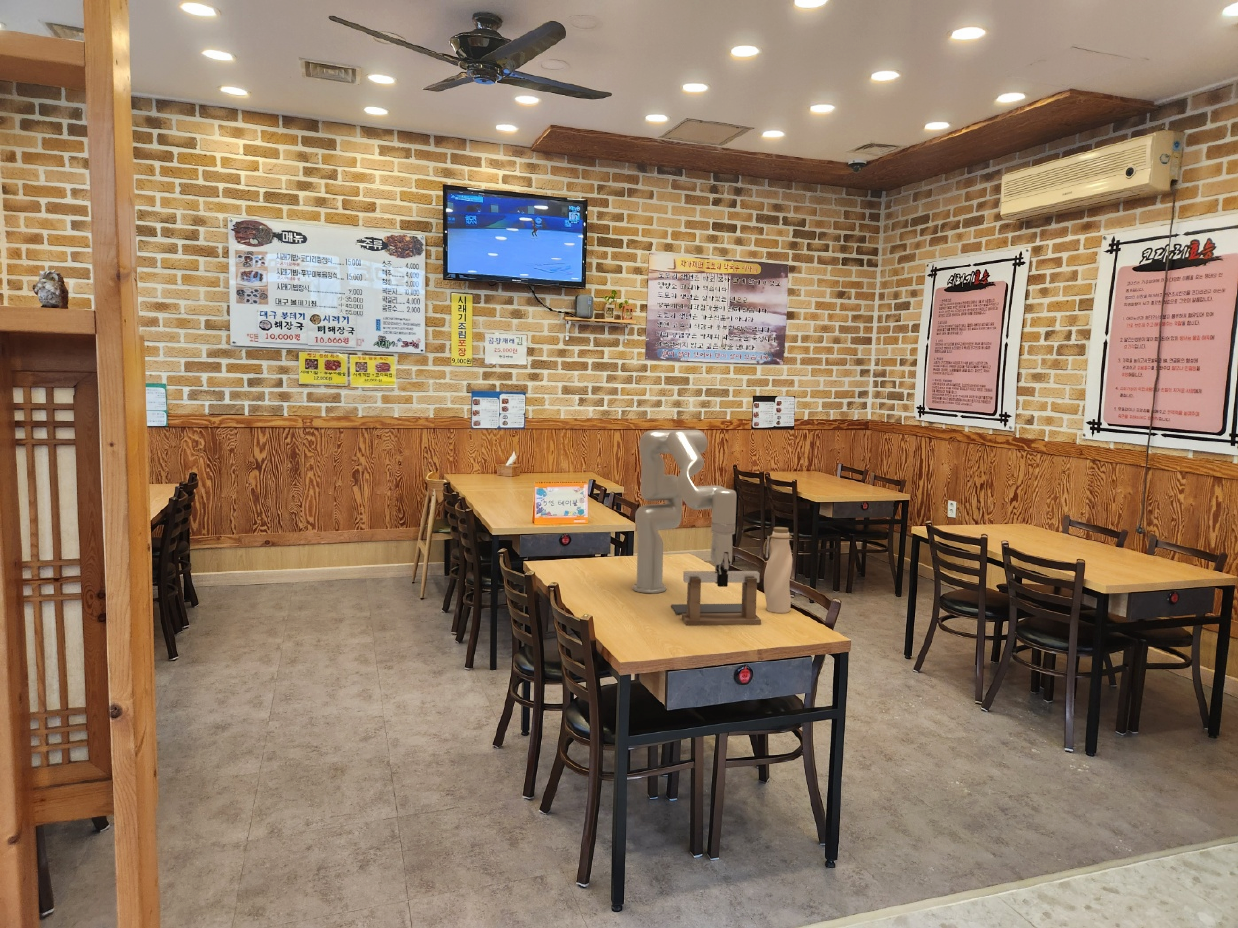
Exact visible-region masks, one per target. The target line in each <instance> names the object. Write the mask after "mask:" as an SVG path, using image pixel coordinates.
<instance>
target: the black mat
mask: <svg viewBox="0 0 1238 928" xmlns="http://www.w3.org/2000/svg"><path fill="white" fill-rule="evenodd" d="M670 605H671V606H670V607H671V609H672V610H673V612H674V614H675V615H676V616H680V615H681V616H682V614H687V603H686V604H685V603H682V604H681V603H678V604H676V603H675V604H674V603H673V604H670ZM741 611H742V603H700V613H741Z"/></svg>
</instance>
